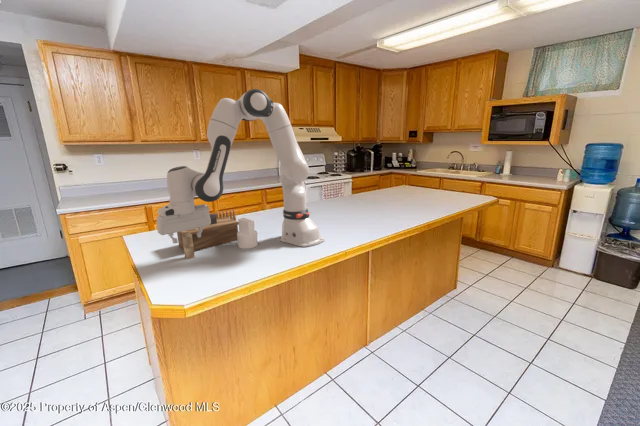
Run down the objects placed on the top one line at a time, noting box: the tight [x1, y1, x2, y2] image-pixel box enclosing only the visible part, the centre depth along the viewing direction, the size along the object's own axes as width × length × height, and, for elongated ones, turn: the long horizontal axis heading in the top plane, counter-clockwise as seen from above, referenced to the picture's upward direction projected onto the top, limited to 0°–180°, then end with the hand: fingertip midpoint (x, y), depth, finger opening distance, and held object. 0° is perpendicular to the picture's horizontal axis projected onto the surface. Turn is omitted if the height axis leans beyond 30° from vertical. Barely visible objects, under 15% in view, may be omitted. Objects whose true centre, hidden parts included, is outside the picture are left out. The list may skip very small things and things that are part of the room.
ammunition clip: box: [215, 208, 237, 221], centre depth 155 cm, size 11×2×12 cm, turn 117°
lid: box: [179, 212, 239, 235], centre depth 137 cm, size 13×25×6 cm, turn 132°
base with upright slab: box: [236, 217, 259, 249], centre depth 135 cm, size 9×9×12 cm
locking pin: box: [182, 233, 196, 260], centre depth 122 cm, size 3×3×10 cm
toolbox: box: [176, 225, 239, 253], centre depth 138 cm, size 12×24×8 cm, turn 132°
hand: (187, 240), depth 121 cm, fingers open, 8 cm apart
